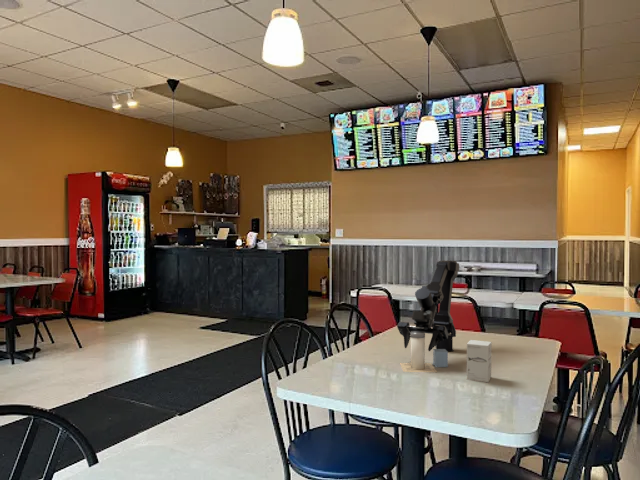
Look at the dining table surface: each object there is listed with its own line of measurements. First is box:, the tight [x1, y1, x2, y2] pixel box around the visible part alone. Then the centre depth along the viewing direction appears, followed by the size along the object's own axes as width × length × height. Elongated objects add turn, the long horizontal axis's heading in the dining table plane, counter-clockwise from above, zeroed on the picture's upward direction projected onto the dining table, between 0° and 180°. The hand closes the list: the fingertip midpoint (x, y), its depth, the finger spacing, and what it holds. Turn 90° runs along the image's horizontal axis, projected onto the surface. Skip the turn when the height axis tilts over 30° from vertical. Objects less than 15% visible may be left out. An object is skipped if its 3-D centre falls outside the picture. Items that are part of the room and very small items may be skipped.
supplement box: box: [466, 339, 493, 383], centre depth 169 cm, size 7×7×13 cm
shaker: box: [410, 331, 426, 369], centre depth 182 cm, size 5×5×13 cm
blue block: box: [432, 348, 449, 368], centre depth 185 cm, size 4×4×6 cm
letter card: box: [399, 362, 438, 373], centre depth 182 cm, size 12×12×1 cm
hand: (416, 349), depth 182 cm, fingers open, 9 cm apart
